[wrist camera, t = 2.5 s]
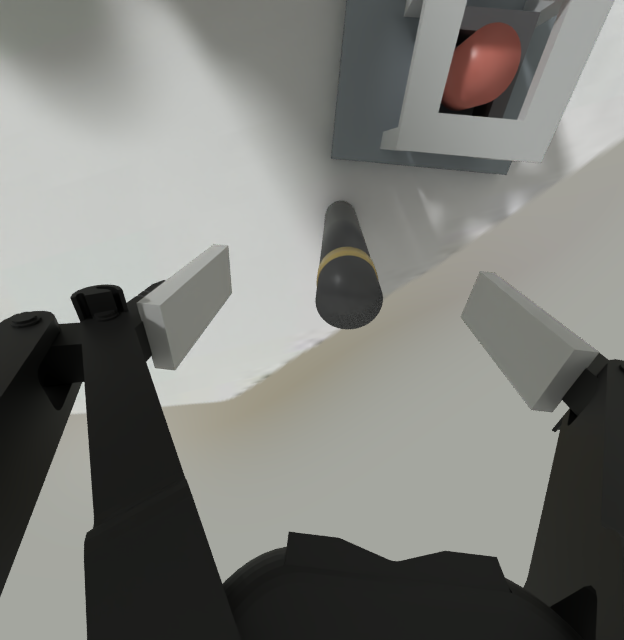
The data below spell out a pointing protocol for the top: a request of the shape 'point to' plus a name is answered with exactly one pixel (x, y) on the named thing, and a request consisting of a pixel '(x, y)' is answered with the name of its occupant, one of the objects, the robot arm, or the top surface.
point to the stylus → (346, 272)
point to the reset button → (482, 67)
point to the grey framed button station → (431, 75)
